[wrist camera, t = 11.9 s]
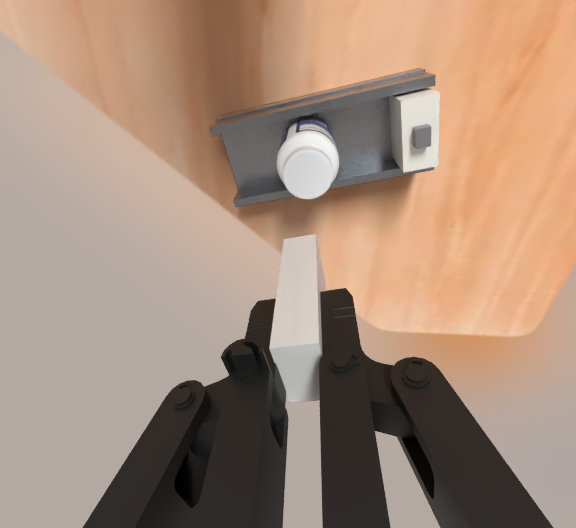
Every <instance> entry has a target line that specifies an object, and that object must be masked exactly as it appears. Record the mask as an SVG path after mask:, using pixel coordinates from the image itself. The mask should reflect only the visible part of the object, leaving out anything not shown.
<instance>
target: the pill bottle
mask: <svg viewBox="0 0 576 528" xmlns="http://www.w3.org/2000/svg"><path fill="white" fill-rule="evenodd" d="M338 169H339V156H338V151H337V148H336V144H335V140H334V137H333V134H332V132H331V130H330V128H329V127H328V126H327V125H326V124H325V123H324V122H323V121H321V120H320V119H317V118H314V117H303V118H300V119H297V120H295V121H294V122H292V123H291V124H290V125H289V126H288V127H287V129H286V130H285V132H284V134H283V137H282V140H281V144H280V148H279V151H278V155H277V171H278V174H279V176H280V179H281V180H282V182H283V183H284V184H285V186H286V188H287V189H288V191H289V192H290V193H291V194H293V195H294V196H296V197H298V198H301V199H314V198H317V197H319V196H321V195H323V194H324V193H325V192H326V191H327V190H328V189H329V187H330V185H331V183H332V182H333V181H334V179H335V178H336V175H337V173H338Z"/></svg>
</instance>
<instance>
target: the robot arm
mask: <svg viewBox="0 0 576 528" xmlns="http://www.w3.org/2000/svg"><path fill="white" fill-rule="evenodd" d="M221 359H222V361H223V363H224V365H225V367H226V369H227V371H228V373H229V376H228V377H226V378H224V379H222V380H220V381H218V382H216V383H213V384H210V385H208V386H205V387H204V386H203V385H202V384H201V383H200V382H198V381H195V380H192V381H186V382H183V383H181V384H179V385H177V386H176V387H175V388H173V389H172V390H171V391H170V393H169V394H168V395H167V396H166V398H165V400H164V401H163V402H162V404H161V406H160V407H159V409H158V410H157V412H156V413H155V415H154V416H153V418H152V420H151V421H150V423H149V424H148V426H147V428H146V429H145V431H144V432H143V434H142V435H141V437H140V438H139V440H138V442H137V443H136V445H135V446H134V448H133V449H132V451H131V453H130V454H129V456H128V457H127V459H126V460H125V462H124V464H123V465H122V467H121V469H120V470H119V472H118V473H117V475H116V476H115V478H114V479H113V481H112V482H111V484H110V486H109V487H108V489H107V490H106V492H105V494H104V495H103V497H102V498H101V500H100V501H99V503H98V504H97V506H96V508H95V509H94V511H93V512H92V514H91V515H90V517H89V519H88V520H87V522H86V523H85V525H84V527H83V528H282V526H283V507H284V489H285V469H286V451H287V434H288V432H287V431H288V414H287V410H286V408H285V402H286V396H287V398H288V401H289V403H292V402H304V401H317V400H320V429H321V471H322V472H321V474H322V514H323V528H390V522H389V516H388V510H387V504H386V498H385V491H384V485H383V479H382V473H381V467H380V461H379V455H378V448H377V442H376V436H375V431H378V432H382V433H386V434H390V435H393V436H397V438H398V440H399V442H400V444H401V446H402V448H403V450H404V452H405V454H406V456H407V458H408V461H409V463H410V465H411V467H412V469H413V471H414V473H415V475H416V477H417V479H418V481H419V483H420V486H421V488H422V490H423V492H424V494H425V496H426V498H427V500H428V503H429V505H430V506H431V509H432V511H433V513H434V515H435V517H436V519H437V521H438V523H439V526H440V527H441V528H553V527H552V525H551V524H550V523H549V521H548V520H547V518H546V517H545V516H544V514H543V513H542V511H541V510H540V509H539V507H538V506H537V505H536V503H535V502H534V501H533V499H532V498H531V496H530V495H529V493H528V492H527V491H526V489H525V488H524V487H523V485H522V484H521V483H520V481H519V480H518V478H517V477H516V475H515V474H514V473H513V471H512V470H511V468H510V467H509V466H508V464H507V463H506V462H505V460H504V459H503V458H502V456H501V455H500V453H499V452H498V451H497V449H496V448H495V446H494V445H493V444H492V442H491V441H490V440H489V438H488V437H487V436H486V434H485V432H484V431H483V430H482V428H481V427H480V426H479V424H478V423H477V422H476V420H475V419H474V417H473V416H472V414H471V413H470V412H469V410H468V409H467V407H466V406H465V405H464V403H463V402H462V401H461V399H460V398H459V396H458V395H457V394H456V392H455V391H454V389H453V388H452V387H451V385H450V384H449V383H448V381H447V380H446V379H445V377H444V376H443V374H442V373H441V371H440V370H439V369H438V368H437V367H436V366H435V365H434V364H433V363H432V362H429V361H427V360H425V359H423V358H417V357H410V358H404V359H402V360H400V361H398V362H397V363H396V364H395V365H394V366H393V365H387V364H382V363H379V362H376V361H374V360H371V359H370V358H369V357H367V356H366V355H365V354H364V352H363V351H362V348H361V345H360V339H359V333H358V327H357V321H356V315H355V308H354V302H353V296H352V295H351V294H350V293H349V291H348V290H347V289H346V288H343V289H336V290H329V291H326V284H325V277H324V272H323V267H322V262H321V257H320V252H319V247H318V242H317V237H316V234H312V235H306V236H300V237H294V238H288V239H284V241H283V248H282V256H281V264H280V271H279V279H278V287H277V294H276V299H270V300H262V301H258V302H257V303H256V305H255V306H254V307H253V309H252V310H251V313H250V318H249V323H248V327H247V332H246V336H245V339H241V340H237V341H235V342H234V343H232V344H230V345H229V346H228V347H227V348H226V349H225V350H224V352H223V354H222V356H221Z"/></svg>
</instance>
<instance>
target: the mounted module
mask: <svg viewBox="0 0 576 528" xmlns="http://www.w3.org/2000/svg"><path fill="white" fill-rule="evenodd" d="M439 100H440V93H439V92H437V91H434V90H432V89H429V88H422V89H418V90H414V91H409V92H405V93H401V94H396V95H392V96H389V107H390V126H391V145H392V157H393V159H394V160H395V162H396V163H397V164H398V166H399V167H400V169H401V170H402V171H403V173H404V172H409V171H415V170H420V169H425V168H430V167H435V166H438V147H439Z"/></svg>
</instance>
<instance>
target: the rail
mask: <svg viewBox="0 0 576 528" xmlns="http://www.w3.org/2000/svg"><path fill="white" fill-rule="evenodd" d="M431 86H435V75H434V74H430V73H426V72H425V70H424V69H420V68H418V69H413V70H409V71H405V72H401V73H397V74H392V75H388V76H384V77H380V78H376V79H372V80H367V81H363V82H359V83H355V84H351V85H346V86H342V87H338V88H334V89H330V90H325V91H321V92H317V93H313V94H309V95H305V96H300V97H296V98H292V99H288V100H284V101H279V102H275V103H271V104H267V105H263V106H259V107H254V108H250V109H246V110H242V111H238V112H233V113H229V114H225V115H221V116H220V117H218V118H217V119H216V120H217V122H216V123H214V124H213V125H212V126H211V127H210V131H211V134H212V137H213V136H217V135H221V136H222V139H223V142H224V145H225V149H226V152H227V155H228V158H229V161H230V164H231V168H232V171H233V174H234V177H235V180H236V183H237V187H238V192H237V194H236V196H235V198H234V200H233V201H234V204H235V207H239V206H245V205H250V204H255V203H261V202H266V201H271V200H276V199H282V198H287V197H292V196H294V195H293V194H291V193H290V192H289V191H288V189H287V188H286V186H285V184H284V183H283V182H282V180H281V179H280V176H279V174H278V171H277V155H278V151H279V148H280V144H281V140H282V137H283V134H284V132H285V130H286V129H287V127H288V126H289V125H290V124H291V123H292V122H294V121H295V120H297V119H300V118H303V117H314V118H317V119H320V120H321V121H323V122H324V123H325V124H326V125H327V126H328V127H329V128H330V130H331V132H332V134H333V137H334V140H335V144H336V148H337V151H338V156H339V169H338V173H337V175H336V178H335V179H334V181H333V182H332V183H331V185H330V187H329V189H335V188H340V187H345V186H350V185H356V184H361V183H366V182H372V181H377V180H382V179H387V178H393V177H398V176H403V175H409V174H414V173H419V172H424V171H430V170H434V167H430V168H425V169H420V170H415V171H409V172H404V173H403V171H402V170H401V169H400V167H399V166H398V164H397V163H396V162H395V160H394V159H393V157H392V145H391V126H390V107H389V96H392V95H396V94H401V93H405V92H409V91H414V90H418V89H422V88H427V87H431ZM329 189H328V190H329Z"/></svg>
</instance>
